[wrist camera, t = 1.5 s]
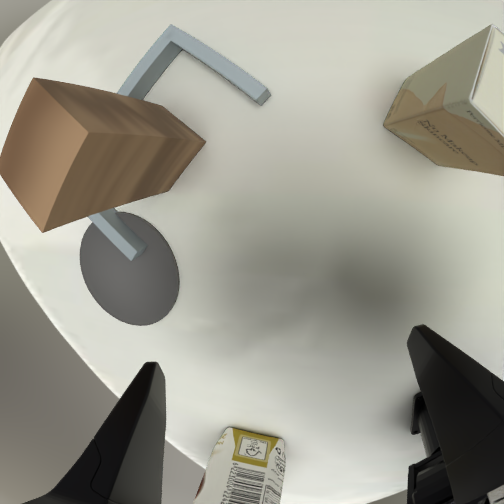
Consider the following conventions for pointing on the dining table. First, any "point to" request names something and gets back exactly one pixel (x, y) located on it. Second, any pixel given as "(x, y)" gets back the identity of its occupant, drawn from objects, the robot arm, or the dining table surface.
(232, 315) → the dining table surface
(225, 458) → the juice carton
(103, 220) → the grey u-frame
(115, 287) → the coaster
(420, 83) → the box
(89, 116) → the walnut block
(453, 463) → the robot arm
